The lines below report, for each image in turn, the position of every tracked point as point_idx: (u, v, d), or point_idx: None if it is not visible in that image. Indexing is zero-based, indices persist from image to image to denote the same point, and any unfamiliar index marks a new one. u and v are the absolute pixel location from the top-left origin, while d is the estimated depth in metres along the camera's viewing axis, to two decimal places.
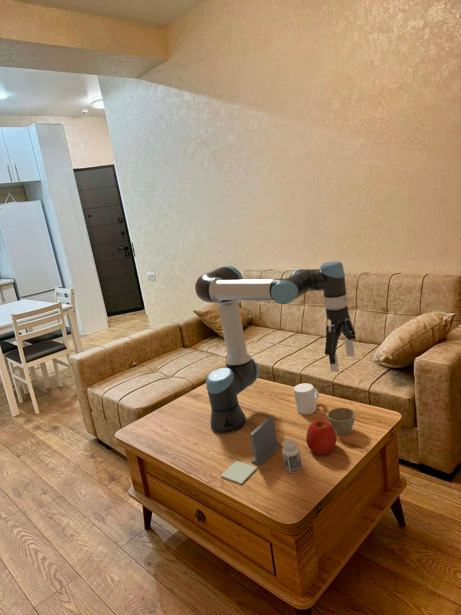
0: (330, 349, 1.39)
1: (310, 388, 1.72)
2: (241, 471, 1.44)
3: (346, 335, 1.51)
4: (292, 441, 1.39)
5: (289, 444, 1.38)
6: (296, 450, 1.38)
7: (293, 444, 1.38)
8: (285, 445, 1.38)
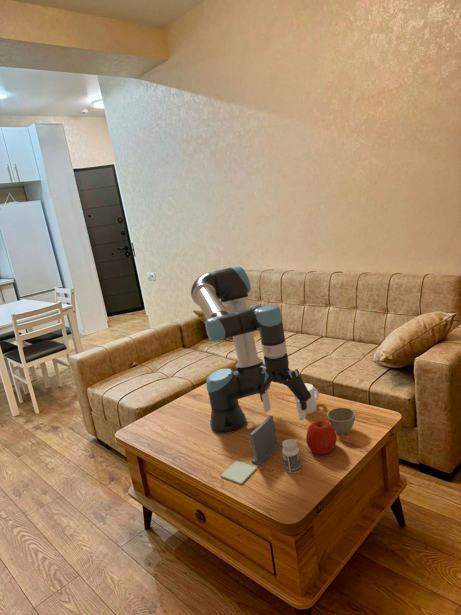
0: None
1: (310, 388, 1.72)
2: (241, 471, 1.44)
3: None
4: (292, 441, 1.39)
5: (289, 444, 1.38)
6: (296, 450, 1.38)
7: (293, 444, 1.38)
8: (285, 445, 1.38)
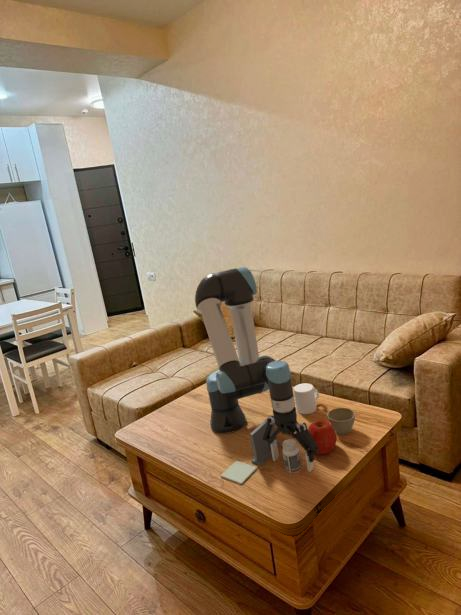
0: None
1: (310, 388, 1.72)
2: (241, 471, 1.44)
3: None
4: (292, 441, 1.39)
5: (289, 444, 1.38)
6: (296, 450, 1.38)
7: (293, 444, 1.38)
8: (285, 445, 1.38)
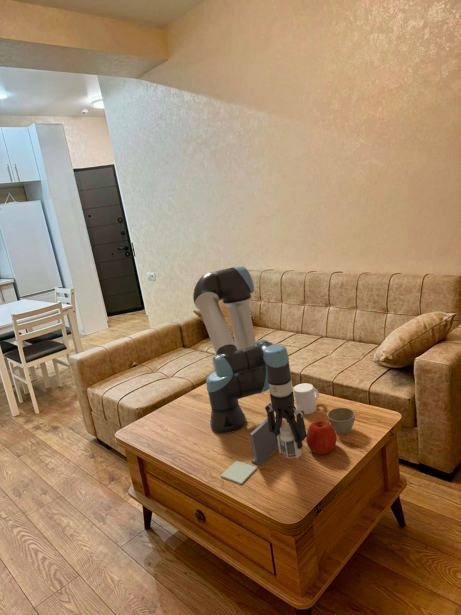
0: None
1: (310, 388, 1.72)
2: (241, 471, 1.44)
3: None
4: (289, 426, 1.39)
5: (286, 429, 1.37)
6: (293, 435, 1.37)
7: (290, 429, 1.37)
8: (282, 430, 1.37)
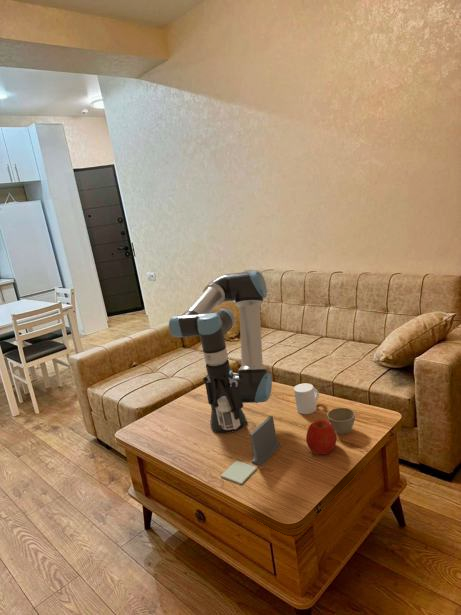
0: None
1: (310, 388, 1.72)
2: (241, 471, 1.44)
3: None
4: None
5: (223, 400, 1.36)
6: None
7: (227, 400, 1.36)
8: (219, 401, 1.36)
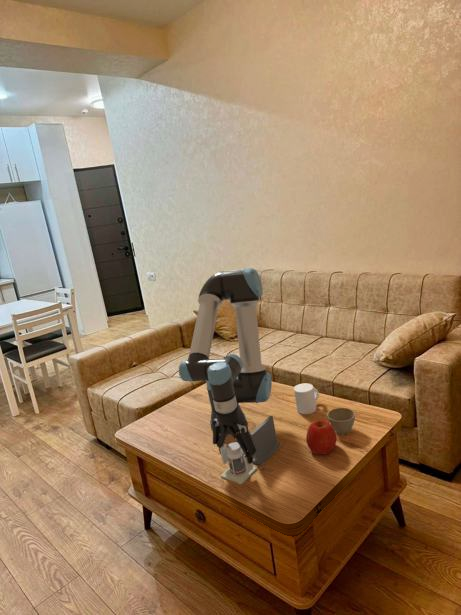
0: None
1: (310, 388, 1.72)
2: None
3: None
4: (237, 444, 1.42)
5: (233, 447, 1.41)
6: (240, 453, 1.41)
7: (237, 447, 1.41)
8: (229, 448, 1.41)
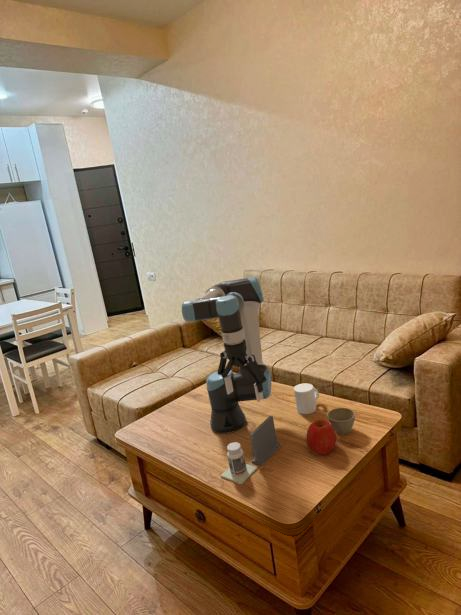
0: None
1: (310, 388, 1.72)
2: None
3: None
4: (236, 444, 1.42)
5: (233, 447, 1.41)
6: (240, 453, 1.41)
7: (237, 447, 1.41)
8: (229, 448, 1.41)
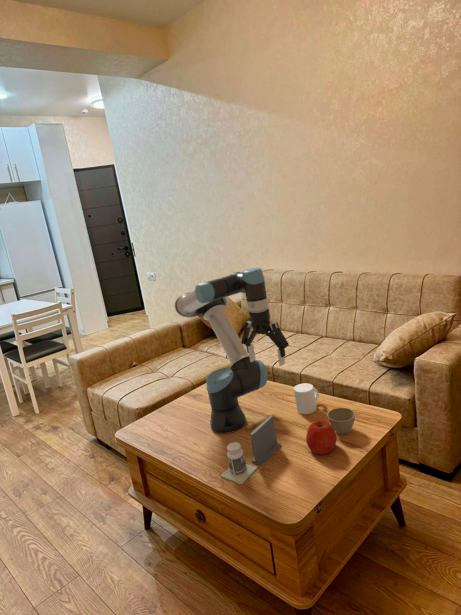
0: None
1: (310, 388, 1.72)
2: None
3: None
4: (236, 444, 1.42)
5: (233, 447, 1.41)
6: (240, 453, 1.41)
7: (237, 447, 1.41)
8: (229, 448, 1.41)
